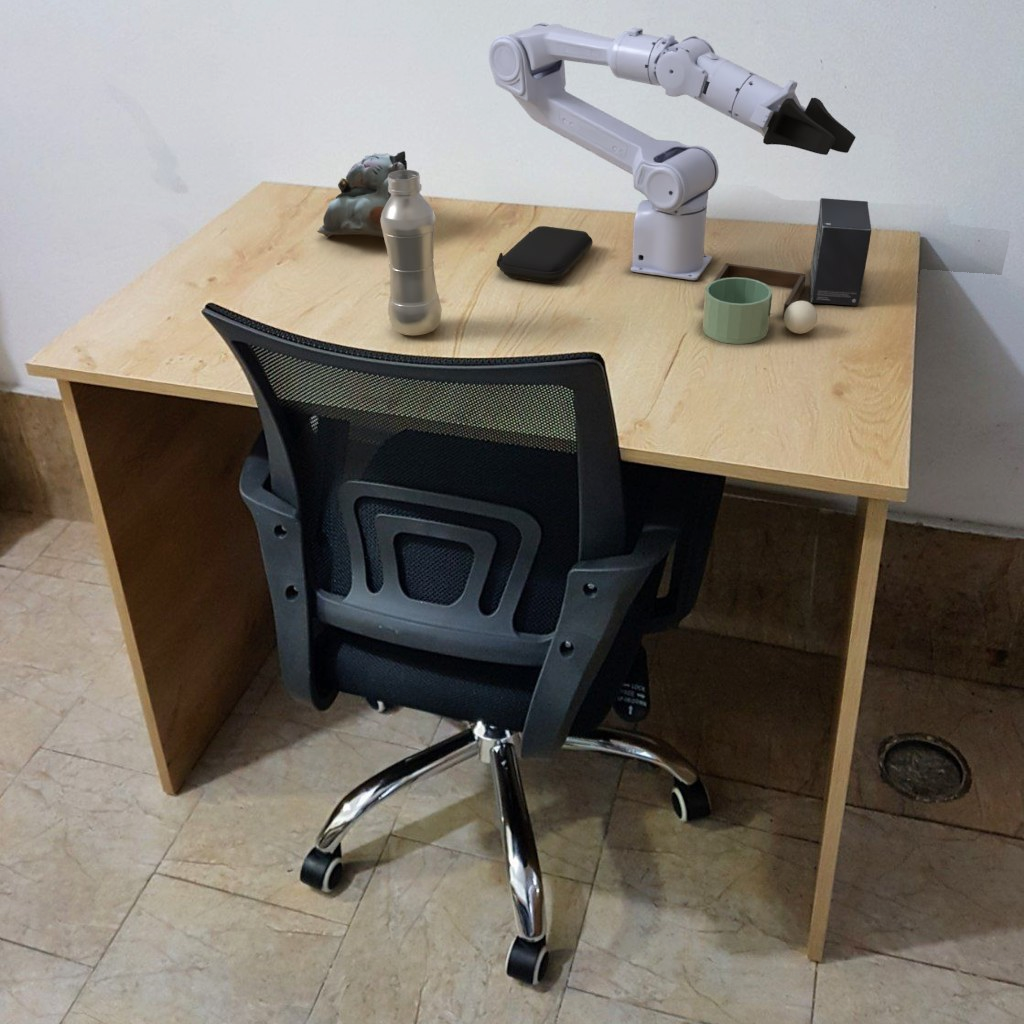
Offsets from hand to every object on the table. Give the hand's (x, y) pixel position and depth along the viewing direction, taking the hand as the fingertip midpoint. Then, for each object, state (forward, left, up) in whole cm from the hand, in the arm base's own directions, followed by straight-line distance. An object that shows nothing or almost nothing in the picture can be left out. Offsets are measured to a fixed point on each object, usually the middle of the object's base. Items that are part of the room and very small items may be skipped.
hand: (841, 145), depth 134 cm
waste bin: (-8, -11, -20) cm, 25 cm away
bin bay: (-8, -1, -20) cm, 22 cm away
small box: (+1, +5, -21) cm, 21 cm away
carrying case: (-39, 0, -21) cm, 44 cm away
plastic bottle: (-46, -25, -21) cm, 56 cm away
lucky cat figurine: (-68, +1, -21) cm, 71 cm away
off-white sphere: (-1, -9, -18) cm, 20 cm away
